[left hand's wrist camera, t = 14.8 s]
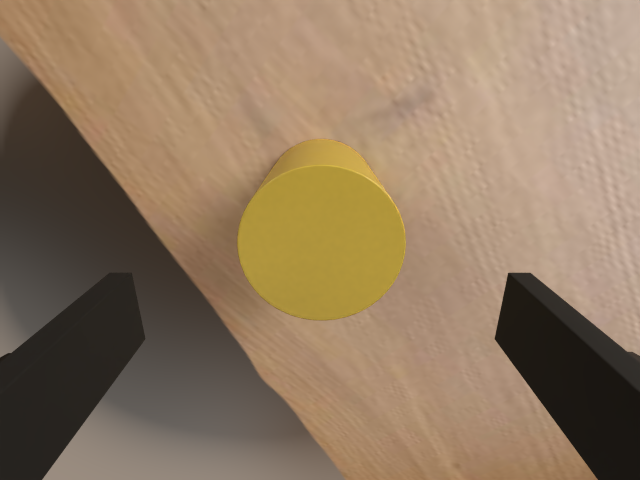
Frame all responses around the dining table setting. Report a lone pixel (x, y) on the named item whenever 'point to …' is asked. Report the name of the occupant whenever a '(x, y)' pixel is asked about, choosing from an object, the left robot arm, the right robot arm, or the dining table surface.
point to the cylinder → (321, 234)
